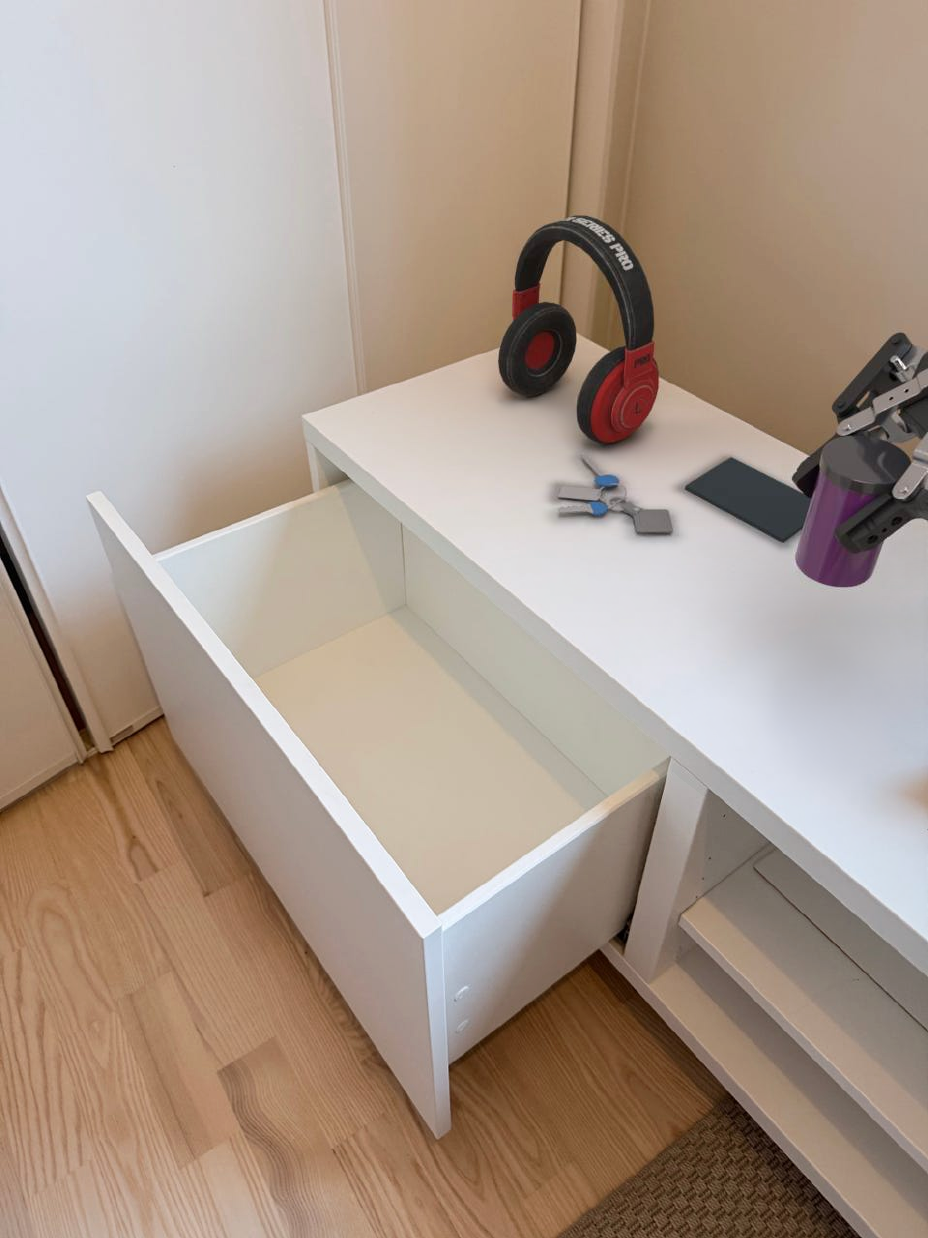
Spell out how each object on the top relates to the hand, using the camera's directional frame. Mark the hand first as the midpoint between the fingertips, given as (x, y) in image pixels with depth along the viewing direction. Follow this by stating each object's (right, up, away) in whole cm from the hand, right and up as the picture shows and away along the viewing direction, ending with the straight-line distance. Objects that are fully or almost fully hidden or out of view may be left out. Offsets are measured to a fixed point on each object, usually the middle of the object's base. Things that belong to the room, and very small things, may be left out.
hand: (822, 515), depth 57 cm
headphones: (-10, +15, +42) cm, 46 cm away
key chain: (-9, +4, +30) cm, 32 cm away
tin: (+2, -3, +3) cm, 5 cm away
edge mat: (+5, +5, +30) cm, 31 cm away
